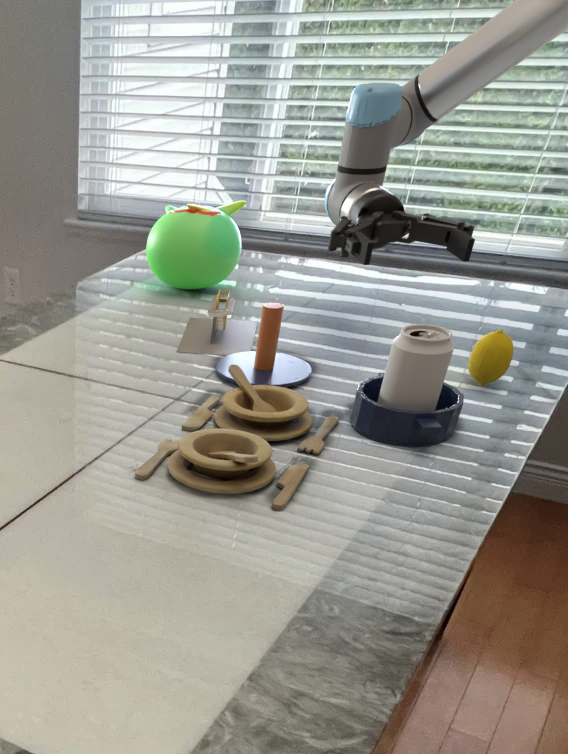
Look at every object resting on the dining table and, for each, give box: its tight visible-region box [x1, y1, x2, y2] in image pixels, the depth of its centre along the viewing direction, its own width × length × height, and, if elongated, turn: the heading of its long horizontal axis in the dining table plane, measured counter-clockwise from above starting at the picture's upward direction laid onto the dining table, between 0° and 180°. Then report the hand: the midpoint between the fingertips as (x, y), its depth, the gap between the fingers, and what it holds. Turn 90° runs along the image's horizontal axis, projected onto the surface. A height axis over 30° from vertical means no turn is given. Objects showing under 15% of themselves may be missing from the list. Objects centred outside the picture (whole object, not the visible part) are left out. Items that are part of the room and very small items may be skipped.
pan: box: [349, 372, 465, 448], centre depth 114 cm, size 13×19×4 cm
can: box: [377, 323, 455, 411], centre depth 111 cm, size 8×8×12 cm
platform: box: [176, 288, 258, 356], centre depth 142 cm, size 12×18×7 cm, turn 165°
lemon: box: [467, 329, 514, 387], centre depth 122 cm, size 6×6×8 cm
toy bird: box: [145, 199, 247, 290], centre depth 161 cm, size 18×17×15 cm
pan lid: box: [215, 301, 313, 388], centre depth 127 cm, size 14×14×10 cm
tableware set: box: [134, 365, 340, 511], centre depth 110 cm, size 30×20×6 cm, turn 151°
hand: (419, 252), depth 115 cm, fingers open, 13 cm apart
